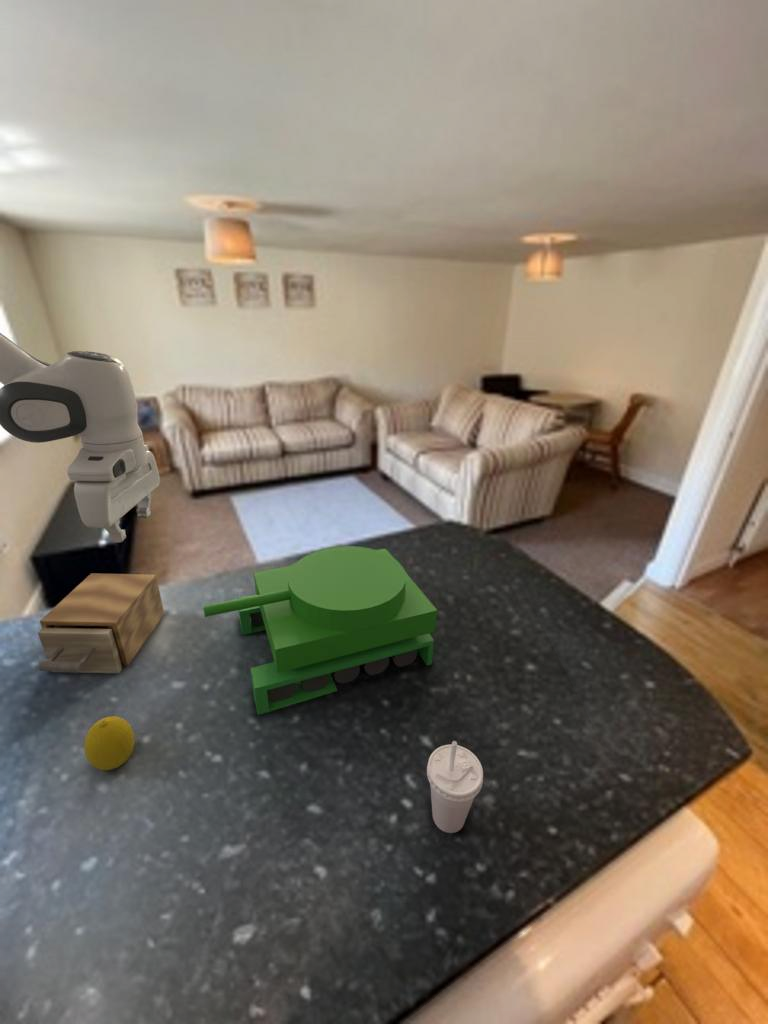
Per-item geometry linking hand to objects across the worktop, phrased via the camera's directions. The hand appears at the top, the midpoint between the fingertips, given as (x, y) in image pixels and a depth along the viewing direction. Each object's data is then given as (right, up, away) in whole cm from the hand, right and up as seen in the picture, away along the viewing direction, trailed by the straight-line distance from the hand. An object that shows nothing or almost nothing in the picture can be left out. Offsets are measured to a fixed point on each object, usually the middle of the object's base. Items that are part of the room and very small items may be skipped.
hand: (132, 528), depth 81 cm
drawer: (-4, -22, -3) cm, 23 cm away
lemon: (+9, -31, -20) cm, 38 cm away
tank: (+33, -22, +1) cm, 40 cm away
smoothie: (+53, -35, -25) cm, 69 cm away
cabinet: (-4, -21, +2) cm, 21 cm away
